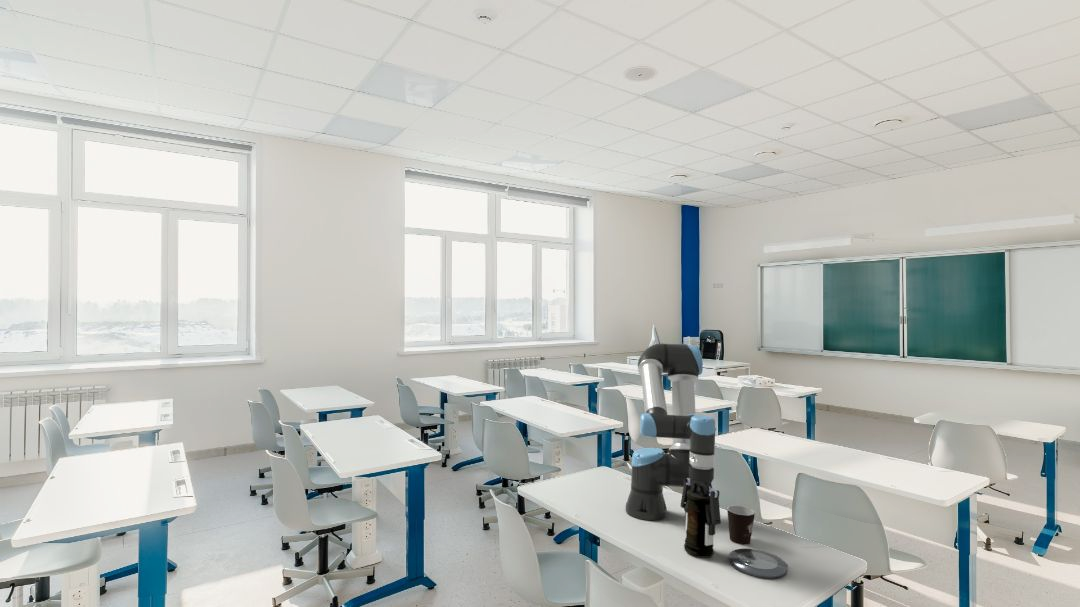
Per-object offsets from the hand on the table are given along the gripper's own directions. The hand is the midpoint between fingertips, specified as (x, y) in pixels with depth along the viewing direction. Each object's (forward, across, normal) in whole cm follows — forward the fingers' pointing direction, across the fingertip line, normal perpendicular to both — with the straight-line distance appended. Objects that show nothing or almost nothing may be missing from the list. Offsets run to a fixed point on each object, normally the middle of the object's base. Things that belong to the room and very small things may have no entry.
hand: (699, 538), depth 164 cm
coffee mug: (+5, -2, +21) cm, 21 cm away
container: (+4, 0, 0) cm, 4 cm away
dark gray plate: (+4, +13, +11) cm, 18 cm away
